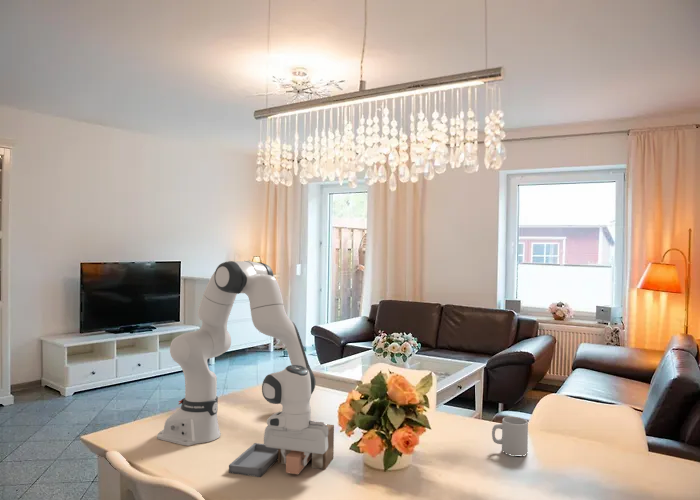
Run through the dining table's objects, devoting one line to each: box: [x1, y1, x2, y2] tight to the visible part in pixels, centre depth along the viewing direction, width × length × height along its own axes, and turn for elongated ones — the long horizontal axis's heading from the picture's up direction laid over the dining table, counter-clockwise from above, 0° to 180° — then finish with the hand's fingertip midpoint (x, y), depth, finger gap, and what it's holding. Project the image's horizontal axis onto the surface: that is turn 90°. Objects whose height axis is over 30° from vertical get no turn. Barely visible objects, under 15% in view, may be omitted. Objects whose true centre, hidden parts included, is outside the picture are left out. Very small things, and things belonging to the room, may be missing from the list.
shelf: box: [277, 423, 335, 470], centre depth 168 cm, size 16×9×11 cm, turn 76°
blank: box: [285, 450, 312, 475], centre depth 162 cm, size 4×14×5 cm, turn 166°
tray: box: [228, 442, 278, 478], centre depth 165 cm, size 11×19×2 cm, turn 166°
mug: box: [491, 416, 529, 455], centre depth 178 cm, size 12×8×11 cm
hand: (295, 463), depth 158 cm, fingers closed on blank, 4 cm apart
